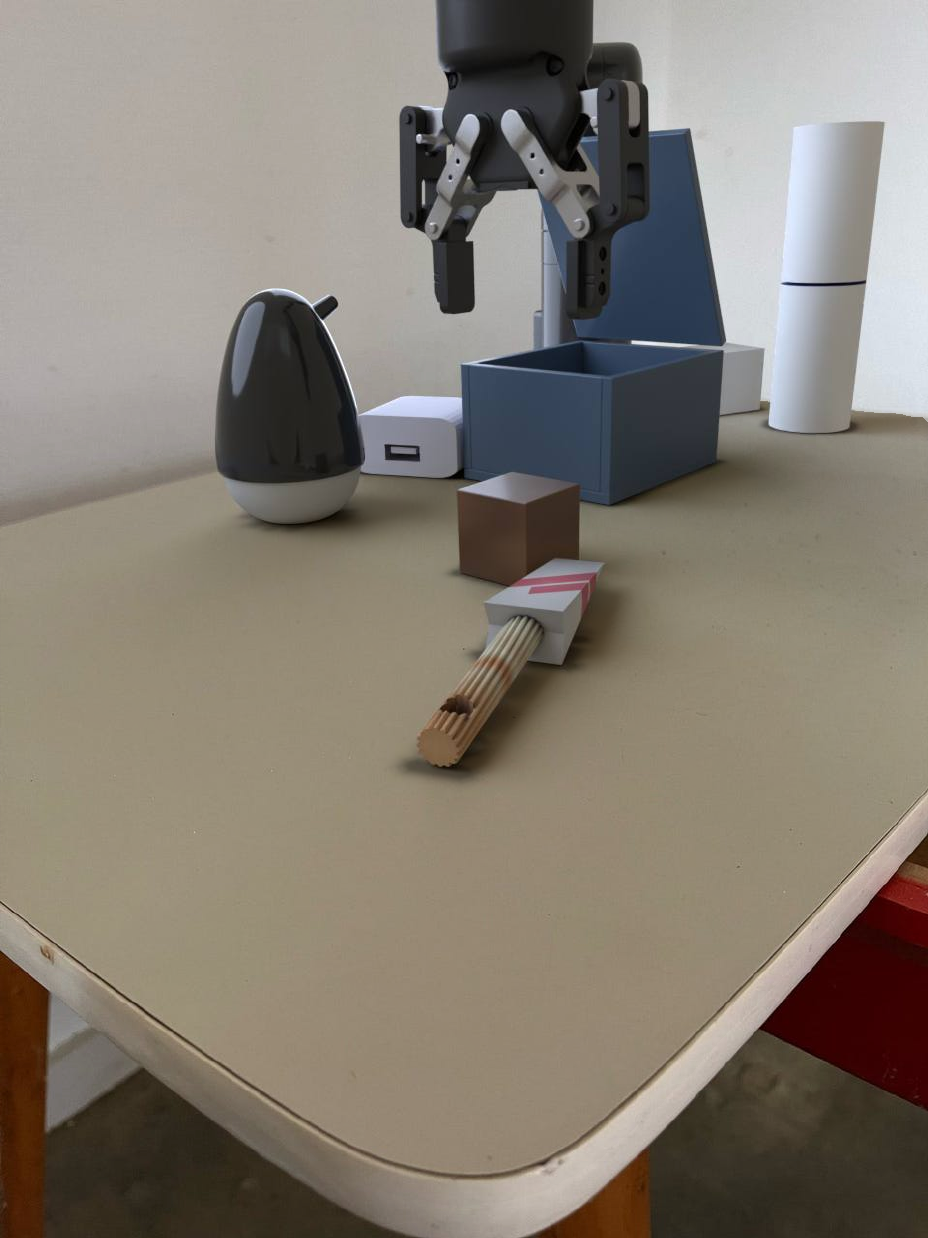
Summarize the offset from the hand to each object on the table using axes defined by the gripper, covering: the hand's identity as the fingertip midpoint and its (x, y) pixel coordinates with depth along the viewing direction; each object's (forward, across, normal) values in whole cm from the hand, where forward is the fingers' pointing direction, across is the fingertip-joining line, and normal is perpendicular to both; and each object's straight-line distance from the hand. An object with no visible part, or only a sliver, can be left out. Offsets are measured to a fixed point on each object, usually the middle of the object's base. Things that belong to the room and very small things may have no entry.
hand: (517, 315), depth 53 cm
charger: (+14, +24, -19) cm, 34 cm away
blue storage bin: (+14, +10, -22) cm, 28 cm away
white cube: (+14, +14, -50) cm, 54 cm away
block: (+14, 0, 0) cm, 14 cm away
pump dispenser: (+14, +20, 0) cm, 25 cm away
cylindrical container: (+14, +3, -47) cm, 49 cm away
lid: (-2, +10, -26) cm, 28 cm away
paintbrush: (+14, -8, +10) cm, 19 cm away
